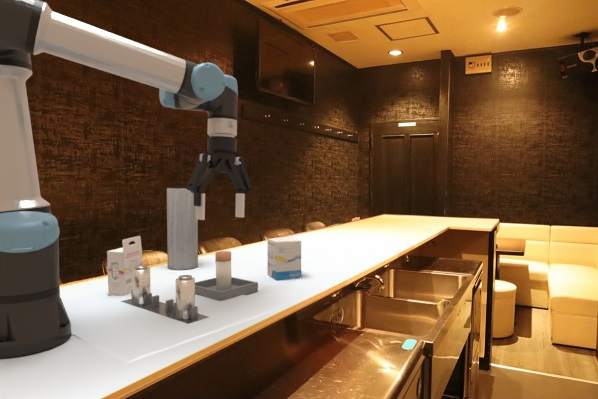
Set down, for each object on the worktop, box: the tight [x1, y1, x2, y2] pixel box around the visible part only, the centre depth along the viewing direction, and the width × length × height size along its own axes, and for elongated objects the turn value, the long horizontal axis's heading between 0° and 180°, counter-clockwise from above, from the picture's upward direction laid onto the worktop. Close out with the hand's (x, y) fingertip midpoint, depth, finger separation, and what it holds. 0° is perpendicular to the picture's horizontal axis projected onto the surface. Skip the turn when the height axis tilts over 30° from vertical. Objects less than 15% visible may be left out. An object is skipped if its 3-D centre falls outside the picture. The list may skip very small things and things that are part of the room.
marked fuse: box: [214, 250, 232, 291], centre depth 113 cm, size 4×4×10 cm
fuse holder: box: [120, 264, 209, 325], centre depth 98 cm, size 6×26×9 cm, turn 52°
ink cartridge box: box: [106, 235, 143, 297], centre depth 113 cm, size 9×5×15 cm, turn 168°
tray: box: [195, 276, 259, 302], centre depth 113 cm, size 13×13×2 cm
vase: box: [166, 187, 199, 271], centre depth 146 cm, size 10×10×27 cm
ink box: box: [267, 236, 302, 281], centre depth 133 cm, size 9×8×12 cm
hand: (220, 218), depth 112 cm, fingers open, 13 cm apart
